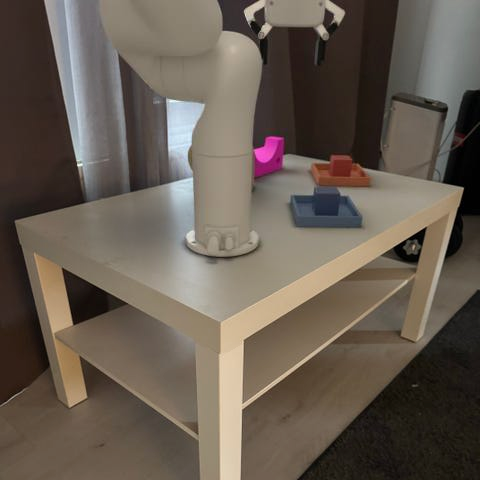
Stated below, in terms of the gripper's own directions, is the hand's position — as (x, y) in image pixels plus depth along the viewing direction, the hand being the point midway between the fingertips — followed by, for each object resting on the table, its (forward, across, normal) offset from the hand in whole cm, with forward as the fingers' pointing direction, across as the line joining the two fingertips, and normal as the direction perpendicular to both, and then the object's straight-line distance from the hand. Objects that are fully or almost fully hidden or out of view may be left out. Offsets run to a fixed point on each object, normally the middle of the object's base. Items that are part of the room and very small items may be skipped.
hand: (290, 64), depth 87 cm
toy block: (+26, +4, -27) cm, 38 cm away
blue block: (+26, -8, +5) cm, 27 cm away
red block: (+26, -16, -22) cm, 38 cm away
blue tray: (+26, -8, +5) cm, 28 cm away
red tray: (+26, -16, -22) cm, 38 cm away
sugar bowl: (+26, +12, -11) cm, 31 cm away
